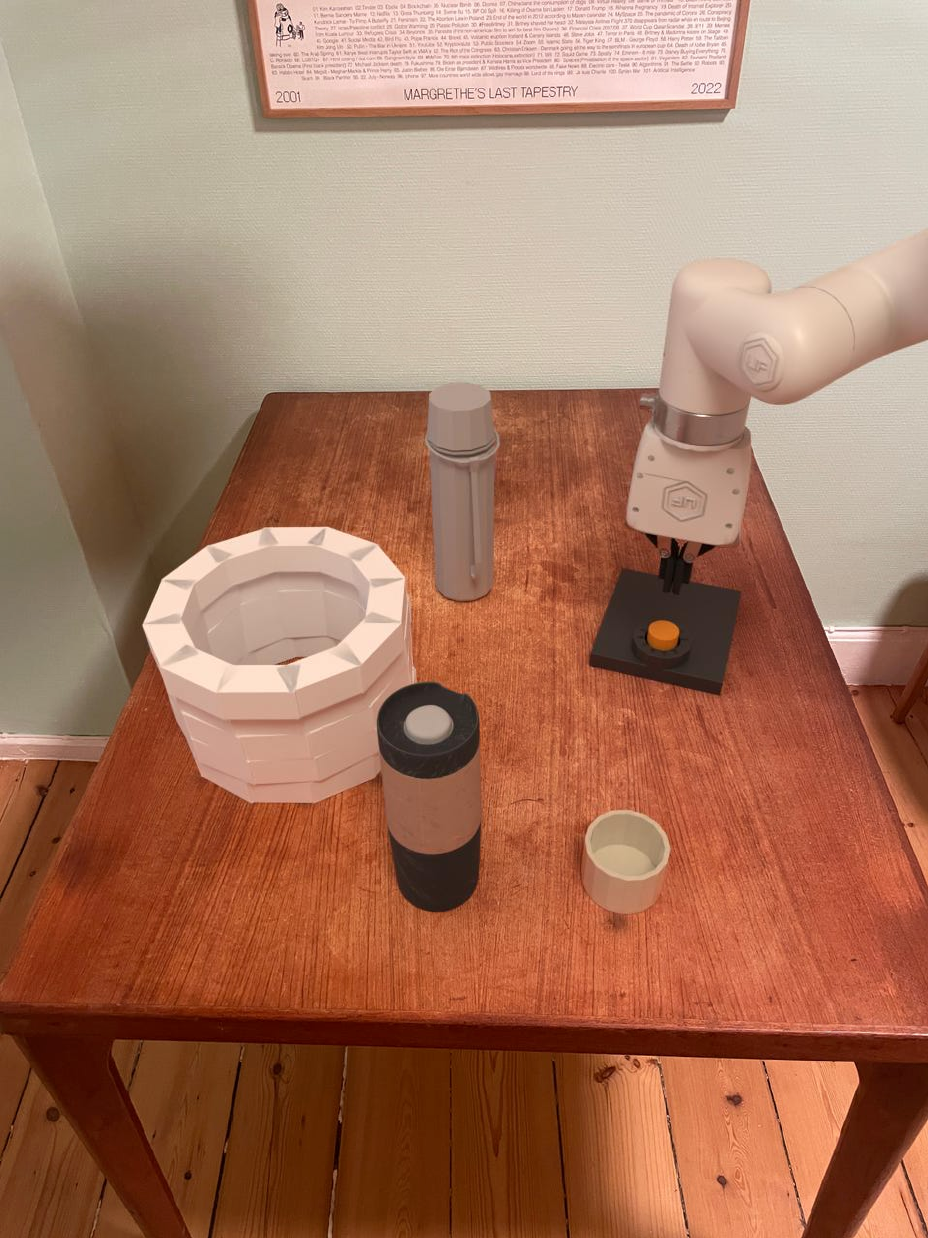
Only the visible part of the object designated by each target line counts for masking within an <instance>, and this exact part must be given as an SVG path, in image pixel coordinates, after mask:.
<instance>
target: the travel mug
mask: <svg viewBox="0 0 928 1238" xmlns="http://www.w3.org/2000/svg"><path fill="white" fill-rule="evenodd" d="M479 714H480V713H479V710H478V706H477V705H476V703H475V701H474V699H473V698H472V697H471V696H470V695H469V694H468V693H467V692H466V693H460V692H458V691H455V690H452V689H449V688H447V687H445V686H443V684H441V683H440V682H439V681H434V680H433V681H429V680H428V681H419V682H417V683H414V684H410V685H408V686H405V687H403V688H400V689H399V690H397V691H395V692H394V693H392V694H391V695H390V696H389V697H388V698H387V699H386V700H385V701H384V702H383V704H382V705H381V707H380V709H379V712H378V715H377V734H378V744H379V753H380V763H381V771H380V772H381V780H382V791H383V800H384V809H385V810H384V811H385V819H386V825H387V831H388V837H389V842H390V843H389V844H390V849H391V853H392V855H391V856H392V860H393V866H394V872H395V877H396V883H397V886H398V889H399V892H400V893H401V895H402V897H404V899H405V900H406V901H407V902H408V903H409V904H411V905H412V906H413V907H415V908H417V909H420V910H422V911H426V912H431V913H443V912H448V911H453V910H454V909H458V907H461V906H462V905H464V904H465V903H467V901H468V900H469V899H470V898H471V897H472V896H473V894H474V892H475V891H476V889H477V886H478V884H479V877H480V866H481V839H482V814H483V810H482V806H483V805H482V773H481V772H482V771H481V768H482V767H481V731H480V729H481V727H480V725H481V723H480V715H479Z"/></svg>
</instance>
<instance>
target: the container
mask: <svg viewBox="0 0 928 1238" xmlns="http://www.w3.org/2000/svg"><path fill="white" fill-rule="evenodd" d="M412 622H413V620H412V607H411V596H410V595H409V594H408V591H407V578H406V577H405V575H404V574H403V573H402V572H401V571H400V569H399V568H398V567H397V566H396V564H395V563H394V562H393V561H392V560H391V558H389V556H388V555H387V554H386V553H385V552H384V551H383V550H382V548H381V547H380V545H379V544H378V543H375V542H372V541H370V540H367V539H364V538H361V537H358V536H355V535H353V534H349V533H346V532H344V531H341V530H338V529H335V528H333V527H330V526H292V527H291V526H289V527H286V526H284V527H283V526H281V527H277V526H276V527H275V526H274V527H263V528H261V529H257V530H255V531H252V532H248V533H245V534H241V535H239V536H235V537H231V538H229V539H226V540H222V541H219V542H216V543H211V544H208V545H206V546H205V547H204V548H201V550H199V551H198V552H196V553H195V554H194V555H192V556H191V557H190V558H188V559H187V560H186V561H185V562H183V563H182V564H180V565H178V567H176V568H175V569H174V570H172V571H170V572H169V573H168V574H167V575H166V576H164V577H163V578H161V580H160V583H159V586H158V589H157V590H156V592H155V595H154V597H153V600H152V601H151V605H150V607H149V609H148V611H147V614H146V616H145V618H144V620H143V623H142V624H141V626H142V628H143V631H144V634H145V638H146V641H147V643H148V647H149V650H150V652H151V654H152V657H153V659H154V662H155V663H156V667H157V668H158V670H159V672H160V673H159V674H160V675H161V678H162V680H163V683H164V686H165V689H166V693H167V695H168V699H169V702H170V706H171V709H172V712H173V715H174V718H175V721H176V723H177V725H178V727H179V729H180V731H181V732H182V734H183V735H184V737H185V739H186V742H187V745H188V747H189V750H190V752H191V754H192V757H193V759H194V762H195V765H196V766H197V769H198V771H199V774H200V777H201V778H204V779H205V780H207V781H209V782H211V783H213V784H215V785H217V786H218V787H220V788H222V789H223V790H226V791H228V792H230V793H231V794H233V795H234V796H237V797H239V798H240V799H242V800H244V801H246V802H248V803H249V804H251V805H253V804H254V803H270V804H271V803H272V804H273V803H274V804H276V803H278V804H279V803H283V804H287V803H288V804H291V803H292V804H293V803H294V804H296V803H297V804H314V805H315V804H317V803H319V802H321V801H324V800H326V799H328V798H330V797H331V798H332V797H333V796H335V795H337V794H340V793H342V792H345V791H348V790H349V789H352V788H354V787H356V786H359V785H361V784H363V783H366V782H368V781H371V780H374V779H375V778H376V777H377V776H378V774H379V773H380V772H381V763H380V753H379V744H378V734H377V715H378V712H379V709H380V707H381V705H382V704H383V702H384V701H385V700H386V699H387V698H388V697H389V696H390V695H391V694H392V693H394V692H395V691H397V690H399V689H400V688H403V687H405V686H408V685H410V684H414V683H418V680H417V669H416V667H415V666H414V657H413V635H412V624H411V623H412ZM294 658H300V659H298V660H295V661H293V662H290V663H287V664H281V663H283V662H286V661H289V660H292V659H294ZM301 658H302V659H301Z"/></svg>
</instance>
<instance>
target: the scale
mask: <svg viewBox="0 0 928 1238" xmlns="http://www.w3.org/2000/svg"><path fill="white" fill-rule="evenodd" d="M663 585H664V579H658V574H655V573H650V572H645V571H640V570H636V569H630V568H624V567H622V568H621V571H620V573H619V576H618V578H617V581H616V584H615V586H614V589H613V592H612V594H611V596H610V600H609V602H608V605H607V608H606V610H605V613H604V616H603V619H602V621H601V624H600V627H599V630H598V631H597V635H596V638H595V640H594V643H593V646H592V648H591V651H590V655H589V664H588V665H589V667H594V668H598V669H602V670H607V671H611V672H614V673H620V674H624V675H628V676H633V677H638V678H642V679H647V680H651V681H655V682H660V683H664V684H668V685H672V686H677V687H682V688H684V689H685V688H686V689H690V690H695V691H699V692H702V693H703V692H704V693H709V694H712V695H717V696H721V694H722V689H723V686H724V682H725V675H726V671H727V666H728V660H729V657H730V656H729V655H730V652H731V651H730V649H731V645H732V641H733V636H734V630H735V626H736V620H737V616H738V612H739V611H738V610H739V605H740V601H741V595H742V590H737V589H731V588H727V587H721V586H717V585H711V584H706V583H701V582H696V581H691V580H690V582H689V584H684V583H682V586H681V589H680V593H679V595H675V594H674V593H673V592H672V588H671V591H670V592H668V593H665V592H663ZM672 587H673V584H672ZM660 620H663V621H669V622H671V623H673V624H675V625H676V626H677V627H678V629H679V637H678V642H677V645H676V647H675V648H673V649H671V650H666V651H663V650H659V649H654V648H653V647H651V646H650V645H649V644H648V642H647V635H648V629H649V626H650V624H652V623H653V622H655V621H660Z"/></svg>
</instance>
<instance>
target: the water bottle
mask: <svg viewBox="0 0 928 1238" xmlns="http://www.w3.org/2000/svg"><path fill="white" fill-rule="evenodd" d="M427 408H428V410H427V427H426V428H427V429H426V433H425V439H424V443H425V445H426V446H427V449H428V450H429V463H430V464H429V465H430V466H429V468H430V487H431V489H430V491H431V509H432V510H431V511H432V529H433V530H432V531H433V550H434V551H433V553H434V572H435V573H434V574H435V576H434V577H435V589H437V590H438V591H439V593H441V595H443V596H444V597H445V598H446V599H449V600H452V601H455V602H460V603H461V602H473V601H476V600H478V599H480V598H483V597H485V596H486V595H487V594H488V593H489V592H490V590H491V589H492V588H493V587H494V585H495V584H494V583H495V581H494V578H495V576H494V575H495V574H494V573H495V572H494V571H495V567H494V566H495V563H494V561H495V557H494V556H495V482H494V456H495V455H496V453H497V451H498V449H499V448H500V446H501V442H500V441H501V439H500V435H499V433H498V432H497V430H496V428H495V425H494V416H493V405H492V396H491V391H489V390H488V389H487V388H486V387H484V386H483V385H480V384H475V383H471V382H450V383H446V384H443V385H440V386H437V387H435V388H434V389H433V390H432V391H431V392H429V395H428V407H427ZM495 442H496V443H495Z"/></svg>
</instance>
